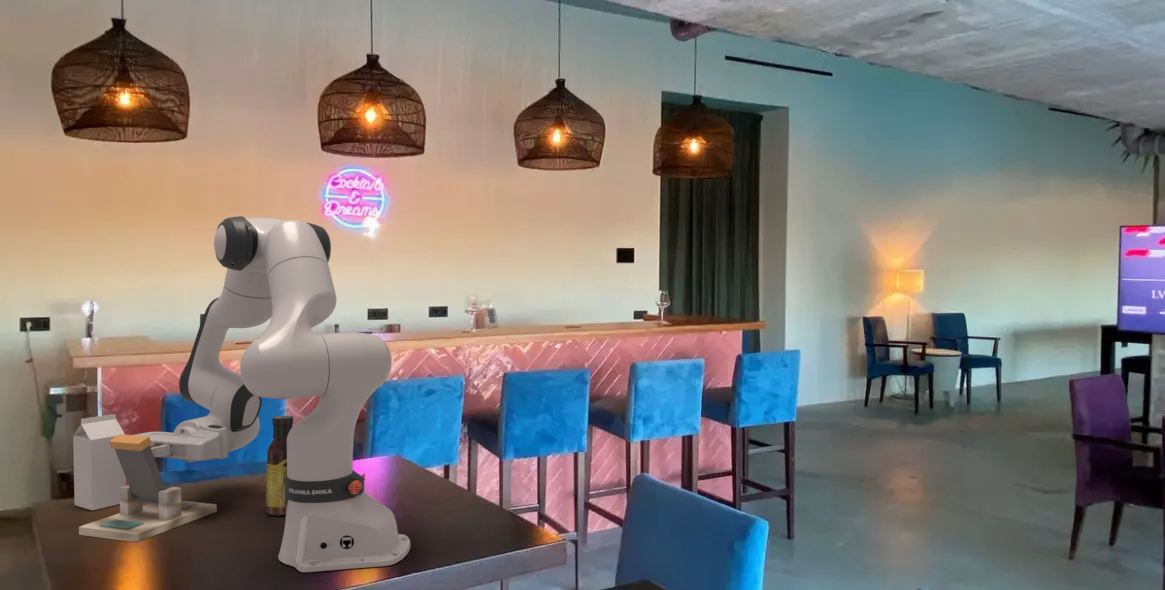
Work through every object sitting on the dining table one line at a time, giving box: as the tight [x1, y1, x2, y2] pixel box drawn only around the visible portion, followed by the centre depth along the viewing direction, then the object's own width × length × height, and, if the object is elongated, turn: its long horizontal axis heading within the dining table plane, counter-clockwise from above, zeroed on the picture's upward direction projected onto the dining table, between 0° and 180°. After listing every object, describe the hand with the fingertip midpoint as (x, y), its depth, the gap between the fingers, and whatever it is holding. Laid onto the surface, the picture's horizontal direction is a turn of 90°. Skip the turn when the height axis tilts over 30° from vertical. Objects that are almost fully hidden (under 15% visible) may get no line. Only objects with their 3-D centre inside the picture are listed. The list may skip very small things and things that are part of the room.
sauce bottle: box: [265, 415, 294, 517], centre depth 168 cm, size 7×6×20 cm
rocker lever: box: [109, 433, 167, 503], centre depth 159 cm, size 3×7×14 cm, turn 72°
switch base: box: [78, 484, 218, 543], centre depth 162 cm, size 20×14×7 cm
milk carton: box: [72, 413, 127, 511], centre depth 174 cm, size 7×7×19 cm
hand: (140, 454), depth 159 cm, fingers closed, pressing on rocker lever
